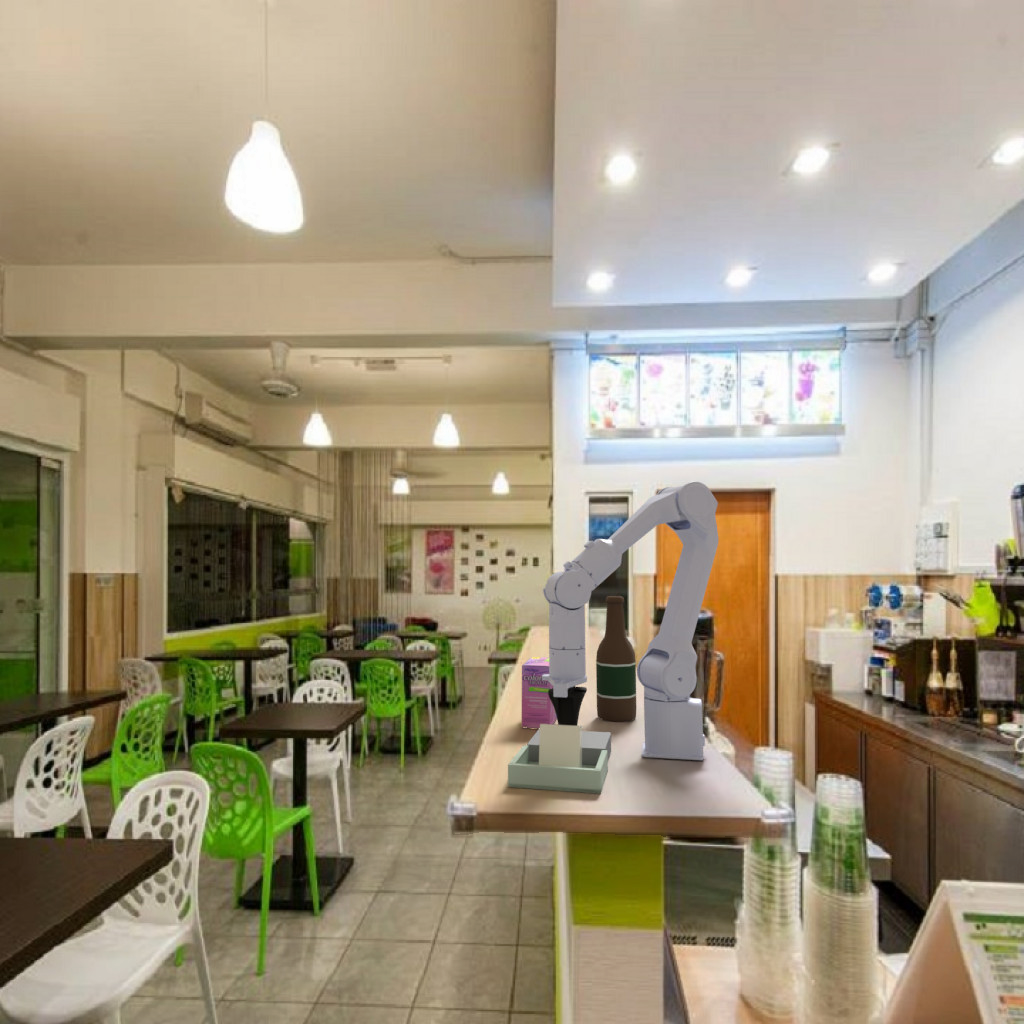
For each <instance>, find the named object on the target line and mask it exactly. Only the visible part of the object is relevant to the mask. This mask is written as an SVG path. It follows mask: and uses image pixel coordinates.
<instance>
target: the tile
mask: <svg viewBox="0 0 1024 1024" xmlns="http://www.w3.org/2000/svg"><path fill="white" fill-rule="evenodd" d="M582 731H583V725H578V724H577V725H559V724H558V723H554V724H540V743H539V765H547V766H562V767H578V768H582Z"/></svg>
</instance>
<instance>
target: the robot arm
mask: <svg viewBox="0 0 1024 1024" xmlns="http://www.w3.org/2000/svg"><path fill="white" fill-rule="evenodd" d="M718 504H719V503H718V500H717V499H716V497H715V496H714V494H713V493H712V491H711V490H710V488H709V486H707V484H705V483H702V482H699V481H690V482H688V483H687V482H686V483H685V484H681V485H676V486H675V485H674V486H667V487H663V488H661V489H660V490H659V491H658V492H657V493H656V494H654V495H652V496H651V497H649V498H648V499H647V500H646V501H645V502H644V504H643V505H641V506H640V508H638V509H637V510H636V511H635V512H634V513H633V514H632V515H631V516H630V517H629V518H628V519H627V520H626V521H625V522H624V523H623V524H622V525H620V526H619V528H618V529H617V530H616V531H614V532H613V534H611V536H609V538H607V539H603V538H597V539H595V540H588V541H587V542H586V543H585V544H583V545H584V546H583V547H584V548H585V549H584V550H583V551H581V552H580V553H579V554H578V555H577V556H576V557H574V559H572V560H571V561H566V562H564V563H563V565H562V566H563V567H564V568H563V569H564V571H556V572H554V573H553V574H551V575H549V577H548V579H547V580H546V583H545V585H544V586H545V587H543V589H542V591H543V595H544V598H545V600H546V602H547V603H548V614H549V615H548V616H549V617H548V647H549V648H548V654H549V655H548V658H549V674H544V675H542V680H546V681H549V682H550V683H551V684H552V685H553V688H552V689H550V690H549V691H548V696H549V698H550V700H551V702H552V704H553V706H554V709H555V712H556V716H557V719H556V720H557V724H559V725H578V724H579V723H578V722H579V717H580V716H579V715H580V710H581V706H582V704H583V700H584V698H585V695H586V693H587V691H588V688H587V687H584V686H579V685H582V684H585V683H587V681H588V676H587V673H586V672H587V671H586V667H587V666H586V616H585V614H586V613H585V610H586V608H585V606H586V604H588V603H589V601H590V599H591V595H592V591H595V589H596V588H597V587H598V586H599V585H600V584H602V583H603V582H604V581H605V580H606V579H607V578H608V577H610V576H611V574H613V573H614V572H615V571H617V569H618V568H619V567H621V564H622V557H623V554H624V553H625V552H626V551H627V550H629V549H630V548H631V547H633V545H635V544H636V543H637V542H638V541H640V540H641V539H642V538H643V537H645V536H646V535H647V534H648V533H649V532H651V531H652V530H653V529H654V528H656V526H659V525H663V524H665V525H666V526H667V527H669V529H671V530H672V531H673V532H674V533H675V534H676V535H677V537H678V539H679V540H680V542H681V543H682V549H681V553H680V556H679V559H678V563H677V566H676V567H677V568H676V569H675V570H676V571H675V574H674V577H673V581H672V585H671V589H670V591H669V596H668V598H667V602H666V605H665V606H666V607H665V609H664V613H663V617H662V621H661V624H660V628H659V631H658V633H657V634H656V636H655V637H654V638H653V639H652V640H651V641H650V642H649V644H648V646H647V649H646V652H645V654H644V655H642V657H641V658H640V659H639V661H638V663H637V665H636V677H637V679H638V682H639V683H640V684H641V685H642V686H643V711H644V712H643V714H644V715H643V718H644V720H643V721H644V724H643V725H644V741H643V743H642V747H641V757H642V758H655V759H673V760H687V761H688V760H689V761H691V760H692V761H704V747H705V746H706V737H705V734H704V732H703V731H704V727H703V726H704V725H703V722H704V721H703V720H704V719H703V701H702V698H697V697H696V698H694V697H691V694H692V693H693V692H694V691H695V689H696V686H697V681H698V680H697V678H698V677H697V671H696V665H697V661H698V655H697V653H696V650H695V649H694V646H693V639H694V634H695V631H696V629H697V623H698V621H699V617H700V613H701V608H702V605H703V601H704V597H705V593H706V590H707V586H708V583H709V580H710V575H711V572H712V568H713V565H714V560H715V557H716V553H717V549H718V547H719V539H720V538H719V533H718V524H717V518H716V512H717V508H718Z"/></svg>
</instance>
